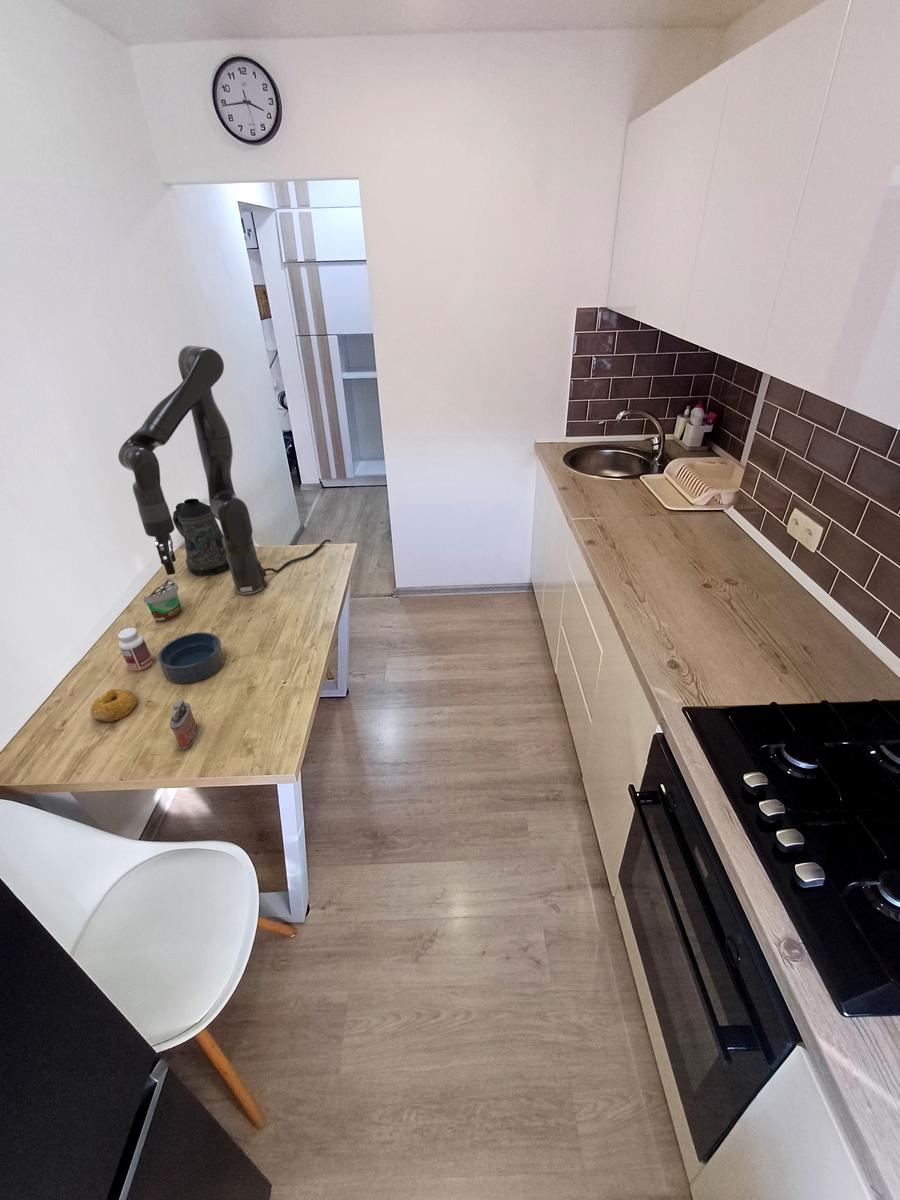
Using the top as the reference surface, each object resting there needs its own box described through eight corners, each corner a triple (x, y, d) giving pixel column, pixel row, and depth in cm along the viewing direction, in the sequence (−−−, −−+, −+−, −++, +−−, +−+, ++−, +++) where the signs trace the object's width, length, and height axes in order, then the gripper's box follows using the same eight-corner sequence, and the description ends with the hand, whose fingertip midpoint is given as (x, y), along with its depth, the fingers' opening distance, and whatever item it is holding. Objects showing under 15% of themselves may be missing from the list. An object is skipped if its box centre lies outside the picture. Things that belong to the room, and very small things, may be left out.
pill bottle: (152, 655, 163) (139, 623, 157) (153, 667, 158) (140, 635, 152) (128, 661, 161) (114, 630, 155) (128, 674, 156) (114, 641, 150)
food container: (170, 626, 175) (160, 599, 170) (153, 624, 176) (142, 597, 171) (193, 605, 185) (184, 578, 180) (176, 603, 187) (167, 577, 181)
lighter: (187, 726, 138) (174, 695, 133) (201, 725, 138) (189, 693, 133) (176, 751, 131) (162, 719, 126) (191, 750, 131) (178, 718, 126)
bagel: (147, 697, 148) (141, 683, 145) (118, 727, 139) (111, 713, 136) (114, 693, 150) (108, 679, 147) (84, 722, 141) (76, 708, 138)
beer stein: (227, 575, 201) (208, 509, 188) (173, 578, 201) (150, 512, 188) (241, 553, 215) (224, 491, 202) (190, 556, 215) (170, 493, 202)
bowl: (215, 642, 167) (210, 625, 164) (233, 669, 156) (227, 651, 153) (159, 664, 159) (152, 647, 156) (173, 693, 148) (166, 675, 145)
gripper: (169, 523, 155) (185, 575, 163) (170, 505, 166) (185, 555, 175) (139, 528, 153) (157, 581, 161) (142, 509, 164) (159, 559, 172)
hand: (171, 567), depth 168 cm, fingers open, 8 cm apart
